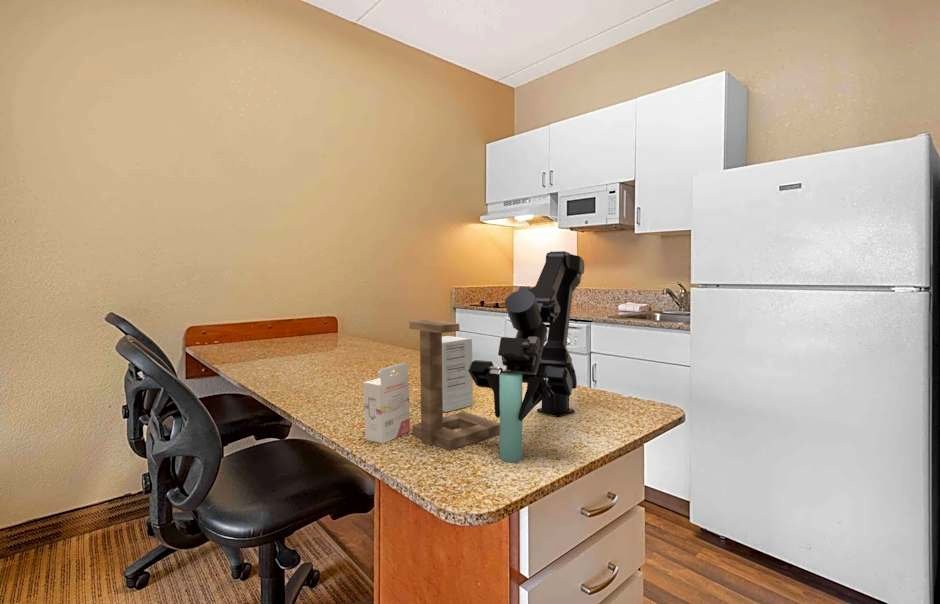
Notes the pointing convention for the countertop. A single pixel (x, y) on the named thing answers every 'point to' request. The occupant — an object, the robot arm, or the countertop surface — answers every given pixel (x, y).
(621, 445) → the countertop surface
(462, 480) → the countertop surface
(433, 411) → the socket stand
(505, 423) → the peg
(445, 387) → the supplement box
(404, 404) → the ink cartridge box
